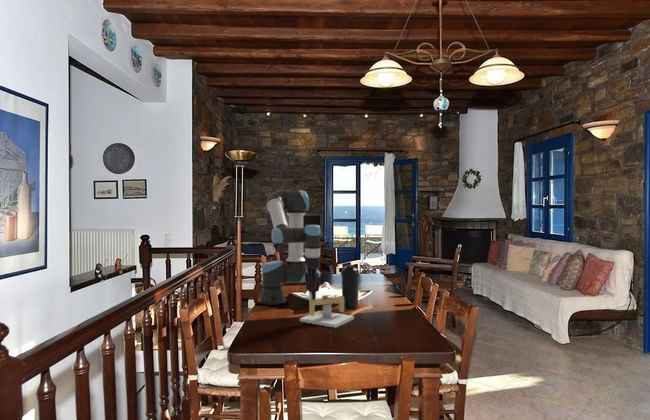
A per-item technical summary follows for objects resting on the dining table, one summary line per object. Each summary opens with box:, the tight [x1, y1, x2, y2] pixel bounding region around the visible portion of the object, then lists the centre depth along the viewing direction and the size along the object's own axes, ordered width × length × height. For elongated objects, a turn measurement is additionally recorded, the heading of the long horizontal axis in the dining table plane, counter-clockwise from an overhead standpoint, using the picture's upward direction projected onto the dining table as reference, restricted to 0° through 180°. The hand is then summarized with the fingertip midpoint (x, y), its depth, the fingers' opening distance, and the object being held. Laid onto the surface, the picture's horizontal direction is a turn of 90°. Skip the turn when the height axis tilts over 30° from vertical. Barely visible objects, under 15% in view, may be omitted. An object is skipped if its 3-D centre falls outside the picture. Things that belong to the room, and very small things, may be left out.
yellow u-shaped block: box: [308, 294, 345, 316], centre depth 216 cm, size 18×5×8 cm, turn 117°
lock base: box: [299, 303, 355, 329], centre depth 217 cm, size 20×18×8 cm
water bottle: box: [340, 264, 360, 310], centre depth 243 cm, size 10×10×23 cm
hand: (312, 304), depth 215 cm, fingers closed
